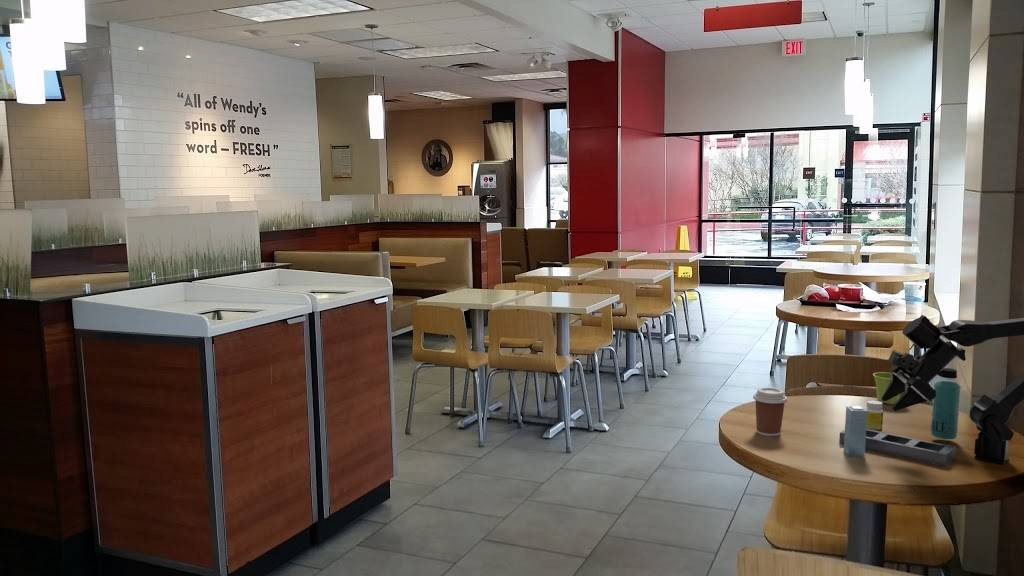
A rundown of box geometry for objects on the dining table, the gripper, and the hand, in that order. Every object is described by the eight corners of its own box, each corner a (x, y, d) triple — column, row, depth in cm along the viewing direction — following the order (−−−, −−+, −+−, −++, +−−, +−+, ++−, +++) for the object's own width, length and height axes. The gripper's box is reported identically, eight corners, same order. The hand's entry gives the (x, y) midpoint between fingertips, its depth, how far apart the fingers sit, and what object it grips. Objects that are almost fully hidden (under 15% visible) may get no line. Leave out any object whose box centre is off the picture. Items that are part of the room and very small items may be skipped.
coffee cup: (765, 425, 234) (767, 384, 232) (792, 433, 226) (794, 391, 225) (744, 431, 228) (746, 389, 227) (771, 439, 221) (773, 396, 219)
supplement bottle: (883, 434, 226) (885, 405, 225) (865, 433, 227) (867, 404, 226) (879, 429, 231) (881, 400, 230) (861, 428, 232) (863, 399, 230)
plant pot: (865, 398, 263) (866, 372, 262) (891, 397, 265) (893, 371, 263) (883, 406, 254) (885, 379, 253) (910, 405, 256) (912, 378, 254)
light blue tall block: (859, 451, 212) (862, 405, 210) (864, 456, 208) (867, 409, 206) (843, 451, 212) (846, 405, 210) (848, 456, 208) (851, 409, 206)
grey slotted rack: (954, 458, 207) (955, 446, 207) (945, 466, 201) (946, 454, 201) (850, 436, 224) (850, 425, 224) (839, 443, 218) (839, 432, 218)
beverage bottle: (957, 439, 222) (963, 367, 219) (956, 446, 216) (962, 372, 213) (930, 436, 225) (935, 364, 222) (928, 442, 219) (934, 369, 217)
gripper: (897, 332, 215) (854, 375, 218) (921, 347, 197) (874, 393, 200) (930, 361, 215) (886, 403, 218) (957, 377, 197) (908, 423, 200)
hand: (887, 404), depth 209 cm, fingers open, 9 cm apart
